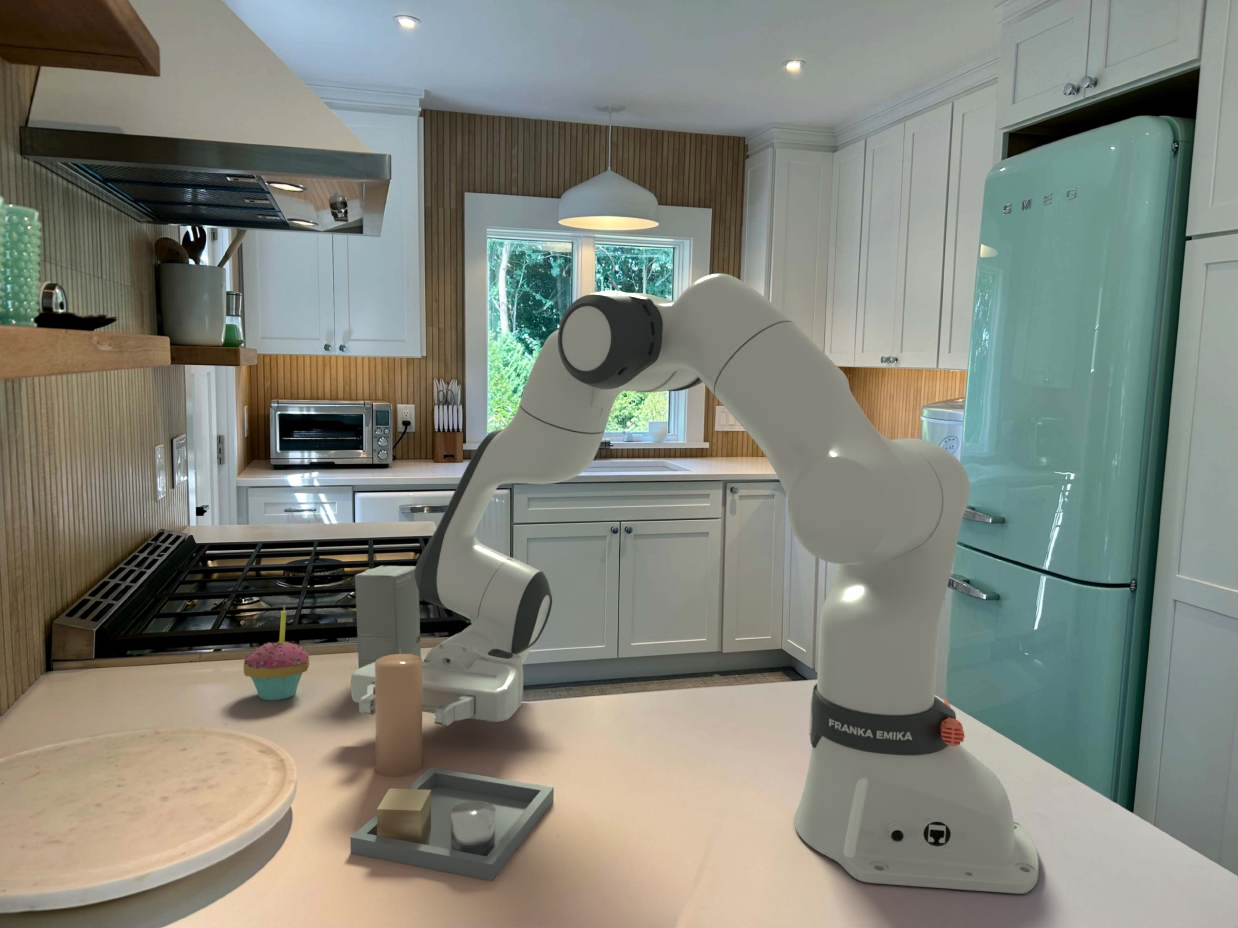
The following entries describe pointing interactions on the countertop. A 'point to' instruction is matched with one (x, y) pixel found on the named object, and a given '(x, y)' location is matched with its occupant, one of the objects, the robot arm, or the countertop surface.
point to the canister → (398, 714)
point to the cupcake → (277, 666)
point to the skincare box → (387, 613)
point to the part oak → (405, 815)
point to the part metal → (473, 827)
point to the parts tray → (513, 823)
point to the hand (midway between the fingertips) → (401, 712)
